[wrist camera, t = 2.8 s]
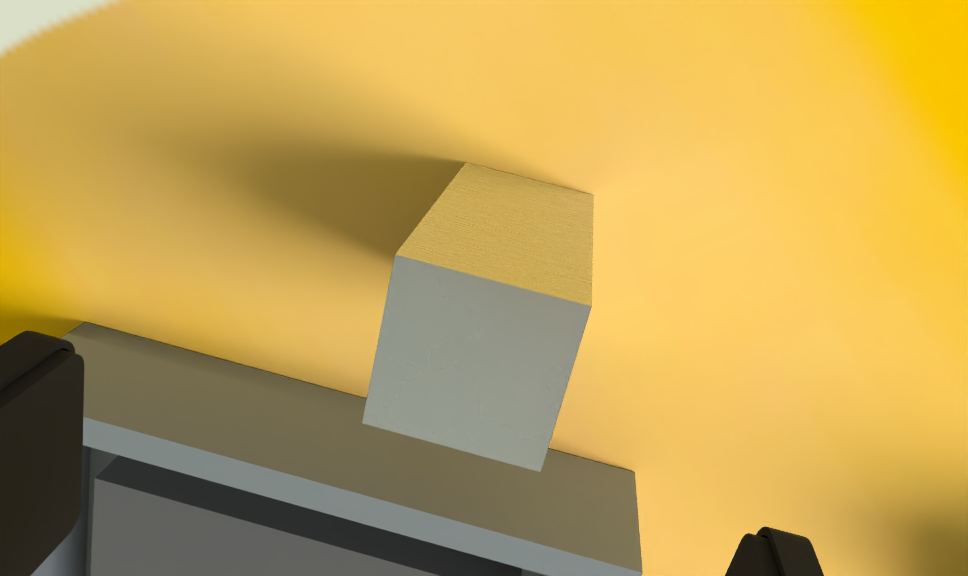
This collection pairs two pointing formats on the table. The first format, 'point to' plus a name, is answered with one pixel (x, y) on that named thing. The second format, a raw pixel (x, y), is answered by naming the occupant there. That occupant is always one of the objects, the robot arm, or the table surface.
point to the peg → (485, 317)
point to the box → (310, 484)
